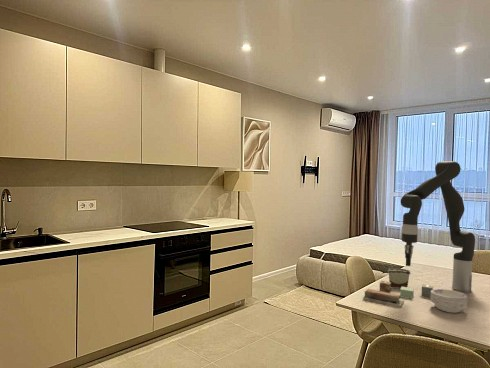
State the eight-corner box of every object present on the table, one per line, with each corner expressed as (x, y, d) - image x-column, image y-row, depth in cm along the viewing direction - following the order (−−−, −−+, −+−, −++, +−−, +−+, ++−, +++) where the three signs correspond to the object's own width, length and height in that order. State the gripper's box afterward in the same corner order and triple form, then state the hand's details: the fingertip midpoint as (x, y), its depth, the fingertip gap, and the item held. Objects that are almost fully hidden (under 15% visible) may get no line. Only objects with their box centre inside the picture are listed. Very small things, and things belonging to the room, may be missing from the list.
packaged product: (362, 291, 179) (368, 286, 187) (362, 300, 179) (367, 295, 187) (401, 298, 169) (405, 293, 177) (400, 309, 169) (404, 303, 177)
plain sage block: (413, 295, 189) (413, 288, 189) (412, 299, 184) (413, 291, 184) (401, 293, 192) (401, 286, 192) (400, 296, 187) (400, 289, 187)
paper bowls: (433, 301, 180) (434, 286, 180) (468, 309, 171) (469, 293, 171) (426, 309, 169) (427, 292, 168) (463, 318, 159) (464, 300, 159)
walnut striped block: (390, 291, 195) (391, 282, 195) (389, 293, 191) (389, 284, 191) (381, 289, 198) (381, 280, 198) (379, 291, 194) (379, 282, 193)
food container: (406, 285, 208) (406, 268, 208) (409, 288, 202) (410, 271, 201) (384, 284, 209) (385, 267, 209) (387, 287, 203) (388, 269, 203)
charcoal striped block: (432, 295, 191) (433, 285, 191) (432, 297, 187) (432, 288, 187) (422, 293, 194) (422, 284, 194) (421, 295, 189) (421, 286, 189)
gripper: (416, 235, 180) (414, 269, 180) (418, 232, 191) (417, 264, 191) (400, 233, 184) (398, 266, 184) (403, 230, 195) (402, 262, 195)
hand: (408, 265), depth 188 cm, fingers closed
